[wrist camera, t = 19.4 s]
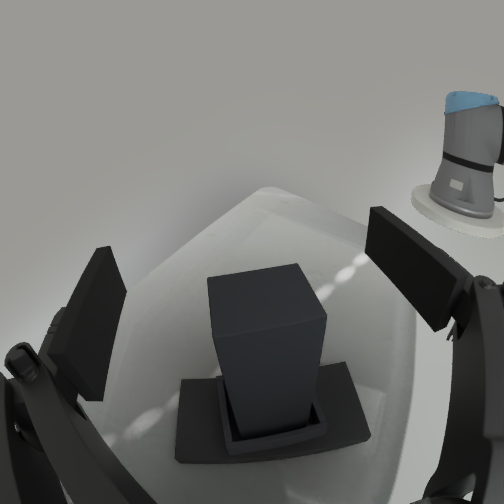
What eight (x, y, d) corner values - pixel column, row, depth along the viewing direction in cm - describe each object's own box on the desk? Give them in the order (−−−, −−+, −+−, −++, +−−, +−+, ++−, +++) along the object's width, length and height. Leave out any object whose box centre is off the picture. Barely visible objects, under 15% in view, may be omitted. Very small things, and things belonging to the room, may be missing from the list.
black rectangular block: (292, 385, 17) (297, 262, 12) (306, 427, 14) (328, 315, 9) (233, 396, 17) (206, 277, 12) (242, 441, 14) (212, 337, 9)
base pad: (343, 368, 19) (349, 348, 18) (367, 440, 14) (378, 426, 12) (184, 386, 19) (175, 367, 17) (179, 463, 13) (166, 451, 12)
